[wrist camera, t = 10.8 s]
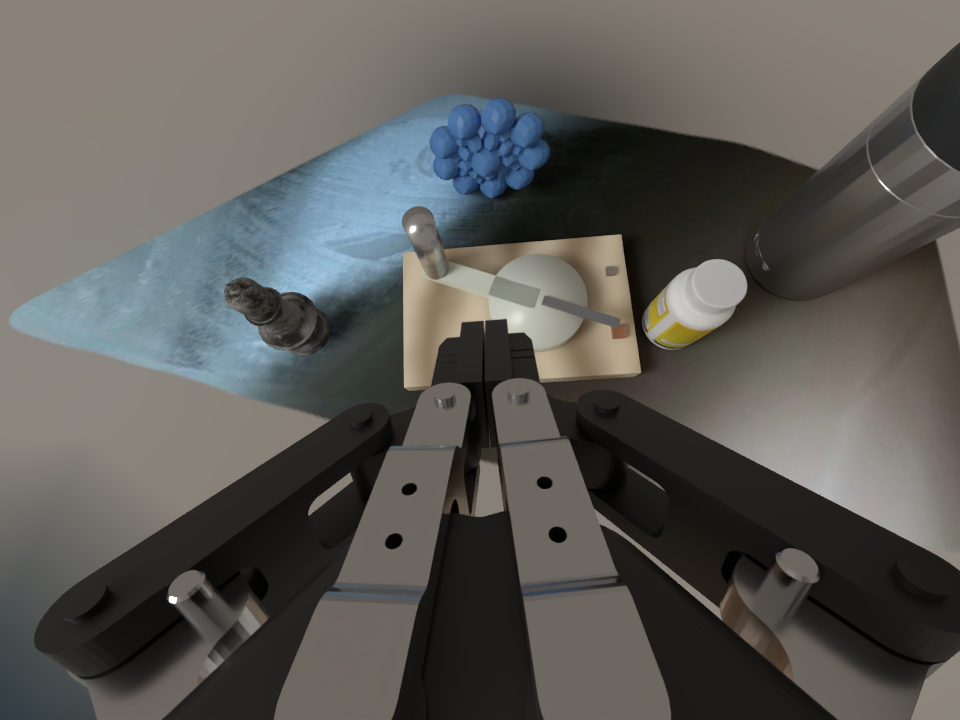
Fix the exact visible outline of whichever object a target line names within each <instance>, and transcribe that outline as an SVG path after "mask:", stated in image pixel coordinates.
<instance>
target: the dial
mask: <svg viewBox="0 0 960 720" xmlns="http://www.w3.org/2000/svg"><path fill="white" fill-rule="evenodd" d="M402 225H403V228H404V230H405V232H406V234H407V236H408V238H409V240H410V242H411V244H412V247H413V249H414V251H415V253H416V255H417V257H418V259H419V261H420V263H421V266H422V268H423V270H422V273H421V274H422V276H423V278H425V279H428V280H431V281H434V282H438V283H441V284H444V285H447V286H450V287H453V288H457V289H460V290H463V291H466V292H469V293H472V294H476V295H479V296H482V297H485V298H488V304H489V311H490V317H491V320H498V319H507V325H508V333H521V332H524V333H525V334H526V335H527V336H528V337H529V338H531V339H532V343H533V348H534V352H546V351H550V350H553V349H556V348H558V347H560V346H562V345H563V344H565V343H566V342H568V341H569V340H570V339H571V338H572V337H573V336H574V334H575V333H576V332H577V330H578V328H579V327H580V325H581V323H582V321H583V319H584V318H585V319H589V320H592V321H595V322H598V323H601V324H605V325H608V326H611V327H614V328H618V327H619V324H620V321H621V319H620V318H617V317H613V316H610V315H607V314H604V313H600V312H597V311H594V310H591V309H587V304H588V297H587V291H586V287H585V284H584V282H583V280H582V278H581V277H580V275H579V274H578V273H577V271H576V270H575V269H574V268H573V267H572V266H570V265H569V264H568V263H566V262H565V261H563V260H561V259H559V258H556V257H554V256H550V255H544V254H532V255H526V256H522V257H519V258H517V259H515V260H513V261H511V262H509V263H508V264H507V265H505V266H504V267H503V268H502V269H501V270H500V271H499V272H498V274H497V275H496V276H495V275H492V274H489V273H485V272H482V271H479V270H476V269H472V268H469V267H466V266H463V265H459V264H456V263H453V262H450V261H448V260H447V257H446V254H445V251H444V248H443V245H442V242H441V239H440V236H439V233H438V230H437V227H436V224H435V221H434V218H433V215H432V213H431V211H430V210H428V209H427V208H425V207H421V206H417V207H413V208H411V209H409V210H408V211H407V212H406V213H405V214H404V216H403V219H402Z"/></svg>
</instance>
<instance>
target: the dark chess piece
mask: <svg viewBox="0 0 960 720" xmlns="http://www.w3.org/2000/svg"><path fill="white" fill-rule="evenodd" d="M224 298H225V301H226V303H227V304H228V305H229V306H230V307H231V308H232V309H234V310H236V311H238V312H240V313H242V314H244V315H245V317H246V319H247V320H248V321H249V322H250V323H252V324H254V325H256V326H258V329H259V334H260V336H261V338H262V340H263V341H264V342H265V343H266V344H267V345H268V346H270V347H272V348H274V349H279V350H288V351H289V352H291V353H293V354H295V355H301V356H303V355H310V354H313V353H315V352H316V351H318V350H320V349H321V348H322V347H323V345H324V344H325V343H326V341H327V339H328V337H329V333H330V324H329V321H328V319H327V317H326V315H325V314H324V313H323V312H321V311H320V310H318V309H316V308H315V306H314V304H313V302H312V301H311V300H310V299H309V298H308V297H306V296H305V295H302V294H300V293H296V292H287V293H282V294H280V293H279V292H278V291H277V290H275V289H273V288H268V287H263V286H261V285H260V284H258V283H257V282H255V281H254V280H252V279H249V278H244V277H242V278H237V279H234V280H232V281H231V282H229V283H228V284H226V288H225V291H224Z"/></svg>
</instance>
